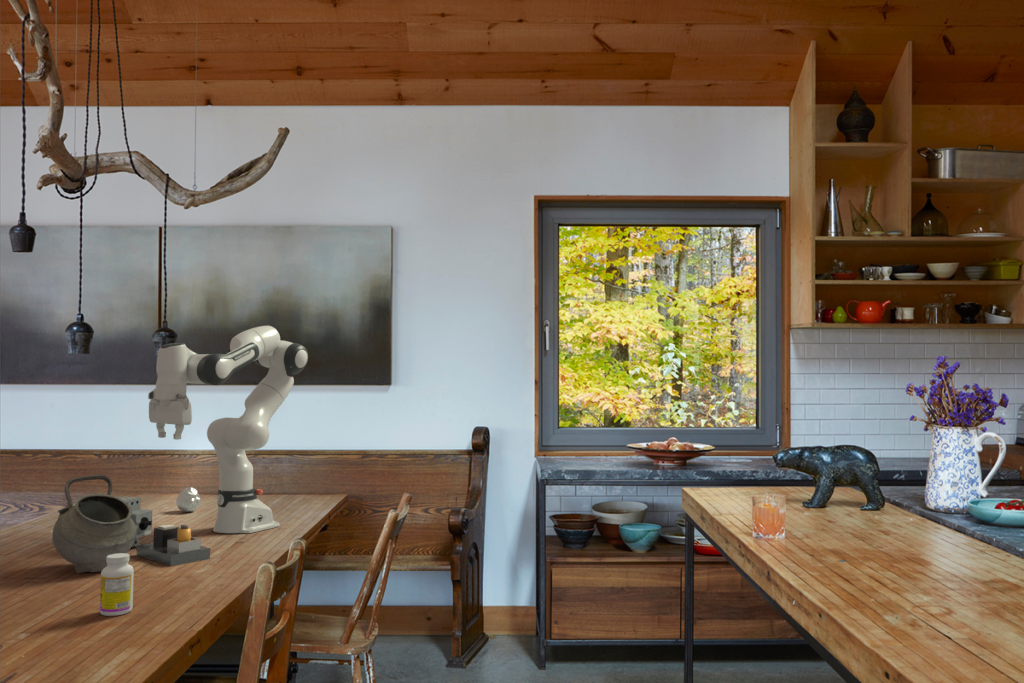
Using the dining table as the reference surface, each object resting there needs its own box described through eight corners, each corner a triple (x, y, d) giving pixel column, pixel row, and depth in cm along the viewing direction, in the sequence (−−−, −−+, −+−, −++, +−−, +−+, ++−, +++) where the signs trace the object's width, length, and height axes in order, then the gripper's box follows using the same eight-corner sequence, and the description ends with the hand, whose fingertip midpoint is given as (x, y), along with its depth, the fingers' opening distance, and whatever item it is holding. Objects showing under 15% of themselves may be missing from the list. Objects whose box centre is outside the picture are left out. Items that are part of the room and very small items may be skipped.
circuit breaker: (139, 551, 232) (141, 502, 233) (99, 549, 235) (100, 500, 235) (155, 546, 239) (157, 498, 240) (116, 543, 242) (118, 496, 243)
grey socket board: (175, 548, 237) (176, 522, 237) (209, 558, 224) (210, 531, 225) (136, 555, 227) (137, 528, 228) (170, 566, 215) (171, 537, 215)
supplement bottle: (107, 608, 176) (109, 552, 177) (137, 607, 177) (139, 551, 177) (94, 617, 169) (96, 558, 170) (125, 616, 170) (127, 558, 170)
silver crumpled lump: (175, 514, 293) (176, 488, 293) (176, 510, 301) (177, 485, 302) (200, 513, 296) (201, 487, 296) (200, 509, 305) (201, 484, 305)
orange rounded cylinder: (185, 547, 225) (187, 523, 225) (192, 549, 223) (193, 525, 223) (174, 549, 222) (175, 525, 222) (180, 551, 220) (182, 526, 220)
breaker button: (169, 540, 231) (169, 524, 231) (175, 542, 229) (176, 525, 229) (157, 542, 228) (158, 526, 228) (163, 544, 226) (164, 527, 226)
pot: (57, 562, 217) (60, 474, 219) (137, 556, 225) (140, 471, 227) (44, 580, 198) (48, 484, 200) (132, 573, 207) (136, 480, 208)
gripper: (198, 394, 235) (196, 439, 234) (164, 393, 247) (163, 436, 247) (178, 395, 230) (176, 441, 229) (145, 393, 242) (143, 437, 242)
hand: (169, 438), depth 238 cm, fingers open, 8 cm apart
